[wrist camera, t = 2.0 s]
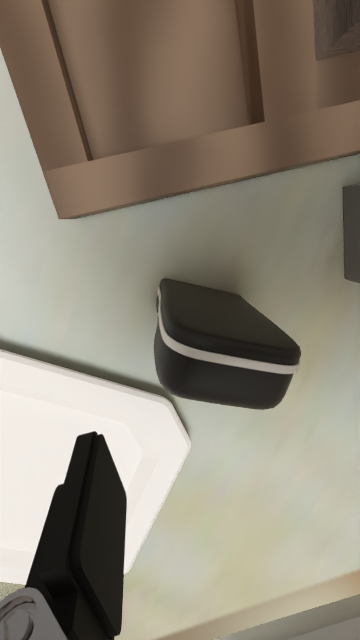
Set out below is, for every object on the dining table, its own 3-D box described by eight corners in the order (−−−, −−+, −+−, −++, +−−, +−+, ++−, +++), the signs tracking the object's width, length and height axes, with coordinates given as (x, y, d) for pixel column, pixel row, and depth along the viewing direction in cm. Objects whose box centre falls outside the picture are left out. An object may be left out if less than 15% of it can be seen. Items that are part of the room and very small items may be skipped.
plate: (118, 575, 34) (116, 598, 32) (-130, 539, 28) (-152, 564, 26) (205, 398, 27) (210, 413, 25) (-98, 307, 22) (-124, 317, 20)
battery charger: (148, 321, 24) (148, 408, 13) (158, 275, 23) (168, 329, 12) (229, 337, 25) (291, 428, 14) (243, 294, 24) (321, 358, 13)
